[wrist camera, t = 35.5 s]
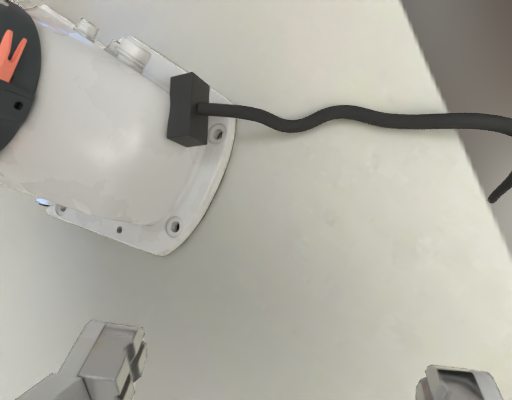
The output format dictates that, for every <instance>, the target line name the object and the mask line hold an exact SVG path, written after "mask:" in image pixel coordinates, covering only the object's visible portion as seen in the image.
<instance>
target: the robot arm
mask: <svg viewBox="0 0 512 400" xmlns="http://www.w3.org/2000/svg"><path fill="white" fill-rule="evenodd" d="M98 30H99V29H98V28H96V27H95V26H94V25H93V24H91V23H90V22H88V21H87V20H85V19H83V18H81V20H80V21H79V23H78V25H77V26H76V25H74V24H73V23H71V22H70V21H68V20H67V19H65V18H64V17H62V16H61V15H59V14H58V13H56V12H55V11H53V10H52V9H50V8H49V7H48V6H46V5H44V4H43V5H41V6H35V7H33V8H29V9H22V8H21V7H19V6H18V5H16V4H14V3H13V2H11V1H9V0H0V185H3V186H6V187H9V188H12V189H15V190H18V191H21V192H24V193H27V194H29V195H32V196H35V197H37V199H36V202H37V203H39V204H40V205H43V206H46V209H47V212H48V214H49V215H51V216H53V217H55V218H58V219H60V220H63V221H66V222H68V223H71V224H74V225H76V226H79V227H82V228H84V229H87V230H89V231H92V232H95V233H97V234H100V235H103V236H105V237H108V238H110V239H113V240H116V241H118V242H121V243H124V244H126V245H129V246H131V247H134V248H137V249H139V250H142V251H145V252H147V253H150V254H154V255H159V256H166V255H168V254H169V253H171V252H172V251H174V250H175V249H176V248H178V247H179V246H180V245H181V244H182V243H183V242H184V241H185V240H186V239H187V238H188V237H189V235H190V234H191V233H192V232H193V231H194V229H195V228H196V226H197V225H198V223H199V222H200V221H201V219H202V217H203V215H204V214H205V212H206V210H207V209H208V207H209V205H210V203H211V201H212V199H213V197H214V195H215V193H216V191H217V189H218V186H219V184H220V182H221V179H222V177H223V175H224V172H225V169H226V166H227V163H228V161H229V158H230V154H231V150H232V146H233V141H234V136H235V125H236V118H239V119H246V120H251V121H256V122H259V123H262V124H264V125H266V126H268V127H270V128H273V129H275V130H278V131H282V132H289V133H294V132H302V131H305V130H308V129H311V128H313V127H315V126H318V125H320V124H322V123H324V122H326V121H329V120H332V119H341V118H343V119H353V120H357V121H361V122H364V123H368V124H371V125H375V126H380V127H387V128H398V129H461V128H462V129H480V130H489V131H495V132H500V133H503V134H506V135H509V136H511V137H512V119H511V118H507V117H502V116H497V115H490V114H479V113H445V114H419V115H407V114H389V113H383V112H378V111H374V110H370V109H366V108H362V107H358V106H351V105H339V106H332V107H328V108H325V109H322V110H320V111H318V112H315V113H313V114H311V115H309V116H307V117H305V118H302V119H299V120H285V119H282V118H279V117H277V116H275V115H273V114H271V113H269V112H267V111H264V110H261V109H257V108H253V107H247V106H241V105H233V103H232V102H231V101H230V100H228V99H227V98H225V97H224V96H223V95H221V94H220V93H218V92H217V91H215V90H214V89H212V88H211V87H210V86H209V85H208V84H207V83H205V82H204V81H203V80H202V79H200V78H199V77H198V76H197V75H196V74H194V73H193V72H190V73H188V72H186V71H185V70H183V69H182V68H180V67H179V66H177V65H176V64H174V63H173V62H171V61H170V60H168V59H167V58H165V57H164V56H162V55H161V54H159V53H158V52H156V51H155V50H153V49H152V48H150V47H149V46H147V45H146V44H144V43H142V42H141V41H139V40H138V39H136V38H134V37H133V36H131V35H125V36H122V37H121V38H119V39H118V40H117V41H114V40H112V41H111V42H110V44H109V45H108V47H106V46H105V45H104V44H102V43H101V42H99V41H98V40H96V39H95V36H96V34H97V32H98ZM221 132H222V133H223V134H222V137H221V138H220V139H218V135H219V134H220V133H221ZM510 188H512V171H511V173H510V174H509V175H508V177H507V178H506V179H505V180H504V181H503V182H502V183H501V184H500V185H499V186H498V187H497V188H496V189H495V190H494V191H493V192H492V193H491V194H490V196H489V197H488V200H487V201H488V202H489V203H491V204H492V203H495V202H496V201H497V200H498V199H499V198H500V197H501V196H502V195H503V194H504V193H506V192H507V191H508V190H509V189H510ZM178 223H179V225H180V228H179V230H178V231H177V230H176V227H177V224H178ZM144 335H145V334H144V329H143V327H136V326H129V325H122V324H114V323H109V322H101V321H93V320H91V321H89V322H88V323H87V324H86V325H85V327H84V329H83V330H82V332H81V334H80V335H79V337H78V339H77V341H76V342H75V344H74V346H73V347H72V349H71V351H70V352H69V354H68V356H67V358H66V359H65V361H64V363H63V364H62V366H61V368H60V369H59V371H58V373H57V374H56V373H51V374H50V375H49V376H47V377H46V378H44V379H43V380H42V381H40V382H39V383H37V384H36V385H35V386H33V387H32V388H30V389H29V390H28V391H26V392H25V393H24V394H22V395H21V396H19V397H18V398H17V399H15V400H132V399H133V396H134V394H135V389H134V385H133V383H134V382H135V381H136V380H138V379H139V378H140V377H141V375H142V372H143V370H144V367H145V363H146V358H147V344H146V343H145V342H144V341H143V337H144ZM425 373H426V377H425V378H423V379H421V380H420V381H419V383H418V385H417V387H416V395H415V398H416V400H503V398H502V396H501V394H500V391H499V389H498V387H497V385H496V383H495V381H494V378H493V377H492V376H491V374H490V373H488V372H485V371H478V370H469V369H465V368H456V367H447V366H438V365H430V366H428V367H427V369H426V370H425Z"/></svg>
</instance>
